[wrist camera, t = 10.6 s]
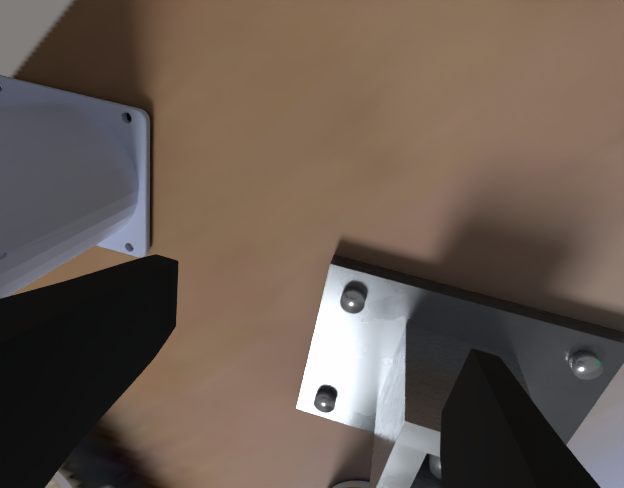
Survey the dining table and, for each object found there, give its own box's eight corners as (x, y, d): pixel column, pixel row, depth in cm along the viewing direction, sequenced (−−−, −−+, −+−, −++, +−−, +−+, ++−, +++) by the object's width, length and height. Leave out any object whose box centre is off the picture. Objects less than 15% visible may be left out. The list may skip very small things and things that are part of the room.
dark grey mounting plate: (300, 396, 25) (270, 488, 20) (333, 255, 20) (307, 323, 15) (533, 468, 23) (570, 590, 18) (624, 332, 19) (709, 441, 13)
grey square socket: (377, 401, 22) (367, 508, 17) (405, 324, 20) (404, 421, 15) (475, 432, 22) (496, 552, 16) (516, 356, 19) (557, 469, 14)
